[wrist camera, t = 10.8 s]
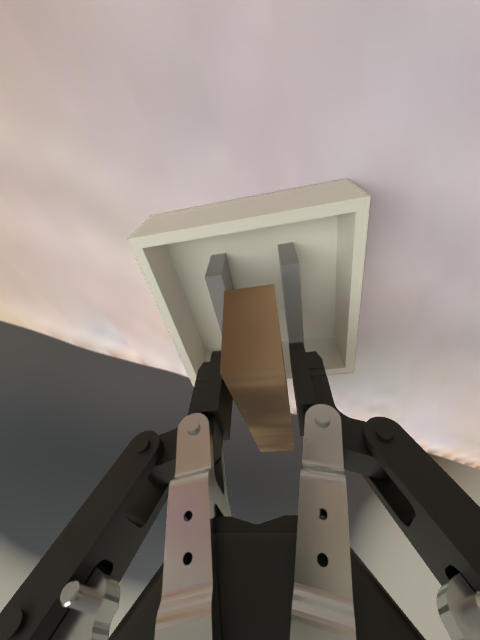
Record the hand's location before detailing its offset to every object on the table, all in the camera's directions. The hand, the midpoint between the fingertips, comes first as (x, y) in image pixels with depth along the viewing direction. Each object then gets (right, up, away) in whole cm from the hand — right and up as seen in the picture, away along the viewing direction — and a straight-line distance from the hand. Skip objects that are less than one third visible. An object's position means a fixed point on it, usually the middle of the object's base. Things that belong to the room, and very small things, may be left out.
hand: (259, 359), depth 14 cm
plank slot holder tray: (0, +5, +6) cm, 8 cm away
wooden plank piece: (+2, -6, +7) cm, 9 cm away
